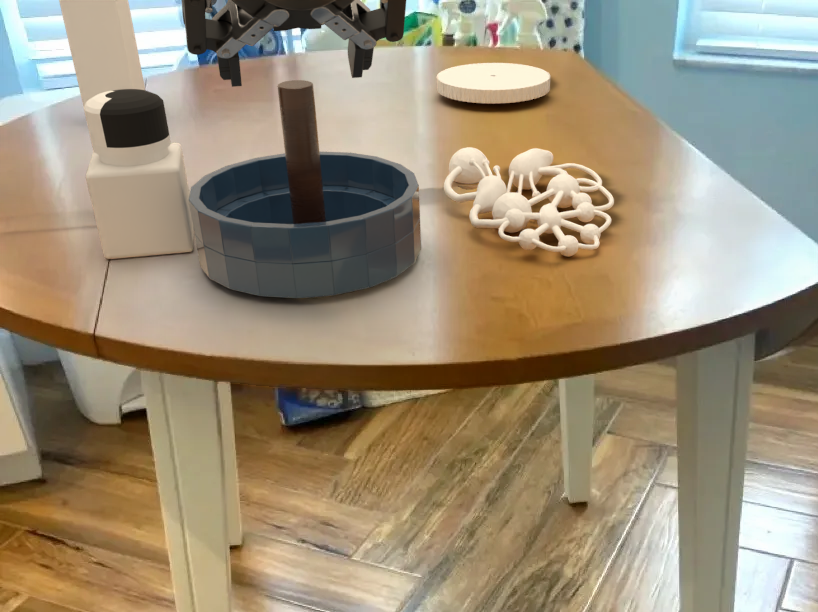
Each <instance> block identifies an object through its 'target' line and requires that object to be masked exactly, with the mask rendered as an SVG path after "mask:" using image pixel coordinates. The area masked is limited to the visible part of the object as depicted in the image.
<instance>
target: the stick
mask: <svg viewBox="0 0 818 612" xmlns="http://www.w3.org/2000/svg"><path fill="white" fill-rule="evenodd" d="M276 87H277V93H278V94H277V95H278V102H279V111H280V120H281V131H282V138H283V146H284V153H285V156H286V165H287V174H288V183H289V191H290V200H291V209H292V218H293V224H302V223H317V222H326V216H325V205H324V195H323V184H322V173H321V163H320V152H321V151H320V141H319V132H318V121H317V111H316V100H315V99H316V98H315V91H314V90H315V89H314V83H313V82H312V81H309V80H305V79H295V80H287V81H286V80H285V81H282V82H280V83H278V84H277V86H276ZM319 151H320V152H319Z"/></svg>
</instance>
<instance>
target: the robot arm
mask: <svg viewBox="0 0 818 612" xmlns="http://www.w3.org/2000/svg"><path fill="white" fill-rule="evenodd" d="M217 1H218V0H181V11H182V12H181V13H182V21H183V25H184V28H185V36H186V38H185V39H186V47H187V51H188V53H189V54H191V55H197V56H199V55H203V54H205V53H206V52H207V50H208V51H211V52H214V53H215V54H216V59H217V66H218V71H219V77H220V78H221V79H222V80H223V81H230V85H231V88H234V87H242V86H243V85H242V74H241V64H240V63H241V61H240V54H239V52H240V51H241V50H243V48H244V47H245V46H246V45H248V46H251V47H254V46H255V45H257V43H258V42H260V40H262V39H263V38H264V37H265V36H266V35H267V34H269V33H270V32H271V31H273V32H285V31H290V30H294V29H295V30H296V29H303V30H318V29H320V30H321V29H322V26H326V27H327V28H328V29H330V31H332V32H333V33H334V34H336V35H337V36H338V37H339V38H341V39H342V40H343V41H348V42H347V59H348V64H349V70H350V75H351V76H350V77H351V79H356V78H357V79H358V78H363V72H364V71H368V70H370V68H371V67H372V64H373V57H374V51H375V48H376V46H377V42H378V41H380V40H382V39H386V41H387V42H390V43H396V42H400V41H401V40H402V39H403V38H404V34H405V21H406V9H407V0H379V8H376V9H373V10H371V8H369V7H368V6H367V5H366V4H365V3H364V2H363V1H362V0H227V2H226V4H225V5H224V6H223V7H222V8H221V9H219V11H218V12H217V13H216V14H215V15H214V16H213V17H211V19H210V18H206V14H211V13H213V6H214V5H215V4H216V3H217Z"/></svg>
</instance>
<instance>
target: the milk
mask: <svg viewBox="0 0 818 612" xmlns="http://www.w3.org/2000/svg"><path fill="white" fill-rule="evenodd" d="M58 3H59V6H60V10H61V15H62V20H63V23H64V28H65V33H66V36H67V42H68V46H69V49H70V54H71V59H72V63H73V68H74V72H75V76H76V81H77V85H78V89H79V95H80V98H81V102H82V108H84V106H85V104H86V102H87V101H88V100H89V99H91V98H92V97H94V96H96V95H98V94H100V93H103V92H107V91H113V90H121V89H140V90H146V85H145V82H144V81H145V80H144V76H143V70H142V66H141V61H140V55H139V50H138V46H137V38H136V34H135V29H134V24H133V19H132V14H131V7H130V3H129V0H58Z"/></svg>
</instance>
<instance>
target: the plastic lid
mask: <svg viewBox="0 0 818 612" xmlns="http://www.w3.org/2000/svg"><path fill="white" fill-rule="evenodd" d="M550 90H551V74H550V72H549V71H547V70H545V69H543V68H540V67H537V66H531V65H527V64H522V63H511V62H510V63H509V62H482V63H481V62H478V63H468V64H460V65H456V66H452V67H449V68H446V69H443V70H441V71H439V72H438V73H437V75H436V91H437V93H438V94H439V95H440V96H442V97H444V98H447V99H450V100H454V101H458V102H467V103H473V104H474V103H476V104H488V105H489V104H493V105H494V104H510V103H513V104H514V103H520V102H525V101H526V102H527V101H531V100H532V101H533V99H534V100H536V99H540V97H544V96H545V95H547V94H549V92H550Z"/></svg>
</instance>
